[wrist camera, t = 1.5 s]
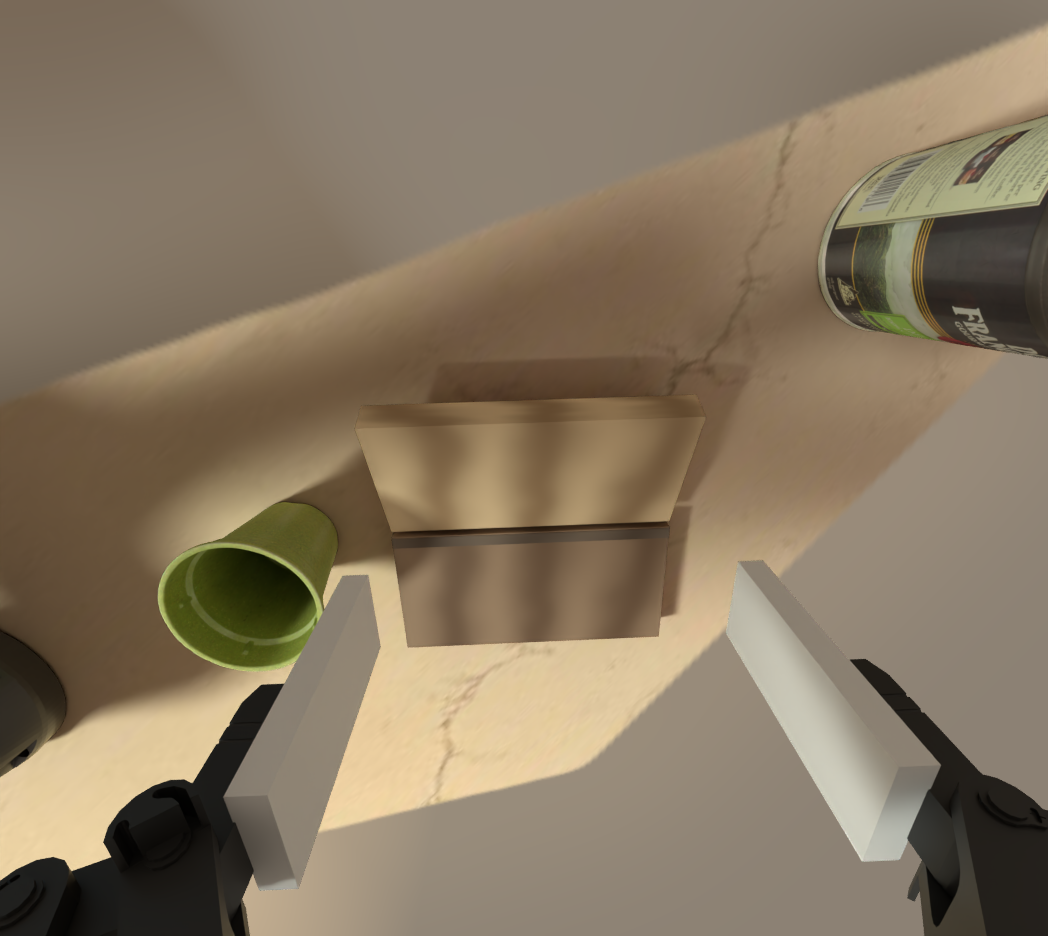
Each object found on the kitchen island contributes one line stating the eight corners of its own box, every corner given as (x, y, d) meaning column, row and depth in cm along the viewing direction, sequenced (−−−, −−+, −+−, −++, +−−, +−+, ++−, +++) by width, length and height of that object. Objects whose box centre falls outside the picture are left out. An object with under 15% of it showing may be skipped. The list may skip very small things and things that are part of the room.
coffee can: (925, 348, 33) (1199, 401, 20) (788, 308, 32) (986, 336, 19) (1018, 179, 29) (1431, 108, 16) (868, 126, 28) (1186, 2, 15)
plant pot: (388, 541, 37) (355, 616, 29) (306, 608, 39) (254, 695, 31) (290, 454, 34) (224, 511, 26) (207, 532, 36) (123, 607, 28)
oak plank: (395, 509, 36) (391, 531, 35) (361, 405, 29) (354, 428, 27) (662, 499, 37) (669, 521, 35) (696, 394, 29) (706, 416, 28)
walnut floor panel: (412, 630, 40) (407, 648, 38) (397, 524, 37) (391, 537, 35) (651, 619, 41) (658, 636, 39) (661, 513, 37) (669, 526, 35)
